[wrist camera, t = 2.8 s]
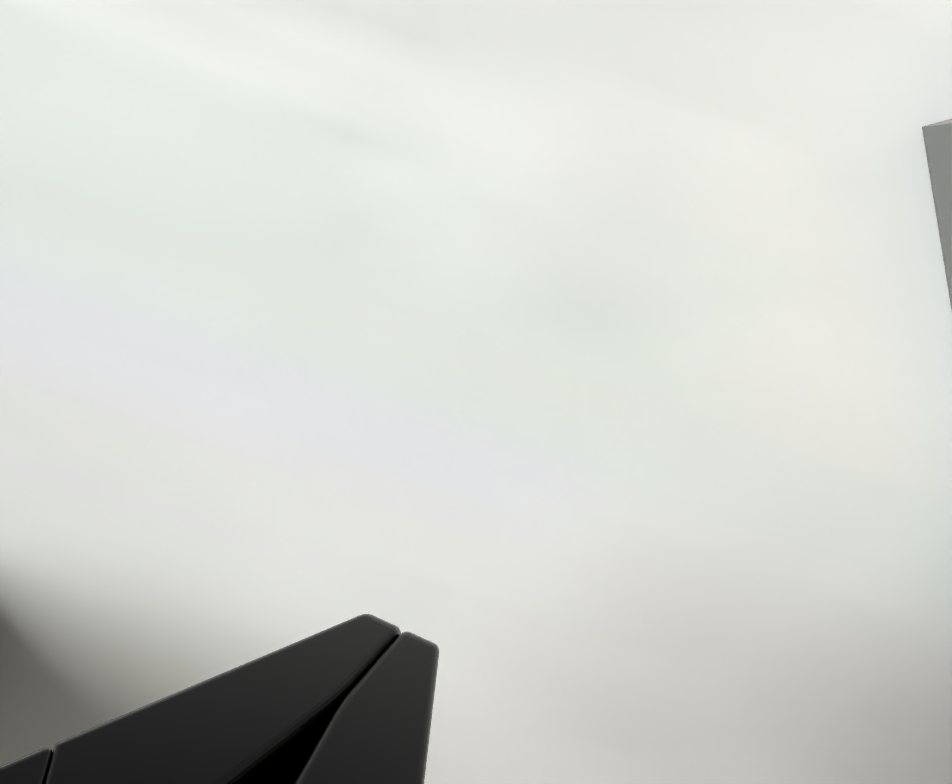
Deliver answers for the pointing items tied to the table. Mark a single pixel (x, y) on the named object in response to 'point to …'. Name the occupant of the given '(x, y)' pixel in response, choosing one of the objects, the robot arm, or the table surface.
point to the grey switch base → (942, 185)
